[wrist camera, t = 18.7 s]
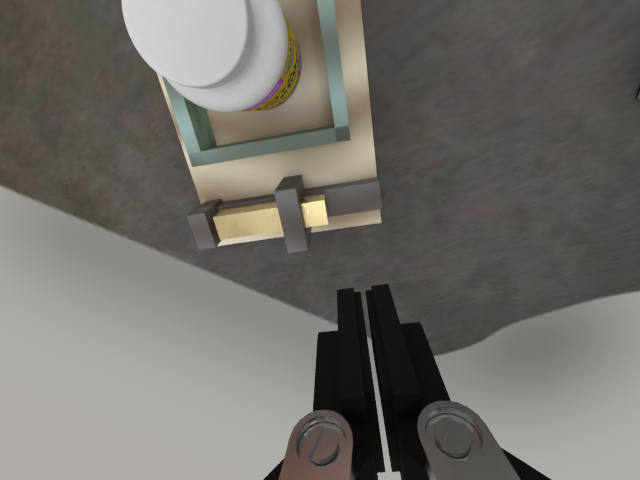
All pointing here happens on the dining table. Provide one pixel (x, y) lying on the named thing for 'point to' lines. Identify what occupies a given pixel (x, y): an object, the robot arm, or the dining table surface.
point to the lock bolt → (267, 217)
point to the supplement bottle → (218, 50)
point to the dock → (291, 136)
